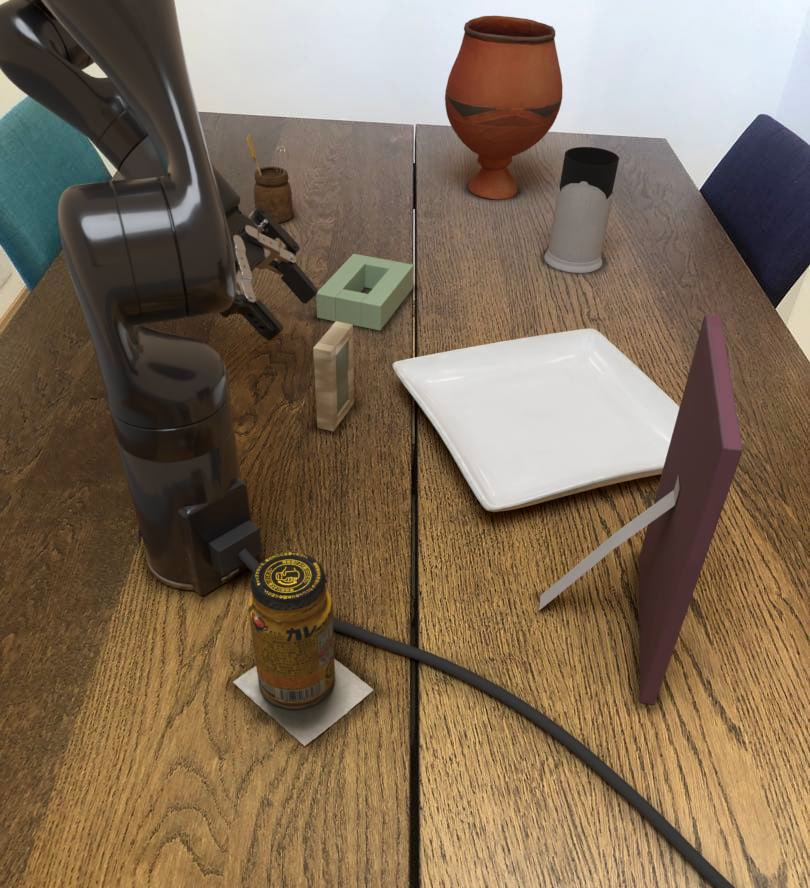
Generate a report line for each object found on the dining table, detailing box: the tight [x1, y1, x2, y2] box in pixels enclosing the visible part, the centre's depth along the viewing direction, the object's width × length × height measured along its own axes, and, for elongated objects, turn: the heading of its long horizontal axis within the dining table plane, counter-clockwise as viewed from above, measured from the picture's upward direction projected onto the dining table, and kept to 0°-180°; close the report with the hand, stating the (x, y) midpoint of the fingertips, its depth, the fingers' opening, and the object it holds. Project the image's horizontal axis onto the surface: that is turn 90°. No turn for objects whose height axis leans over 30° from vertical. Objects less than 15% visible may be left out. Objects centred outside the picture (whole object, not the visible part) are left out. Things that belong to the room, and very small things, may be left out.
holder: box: [315, 253, 415, 331], centre depth 110 cm, size 9×13×4 cm
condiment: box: [232, 551, 374, 747], centre depth 61 cm, size 7×8×12 cm
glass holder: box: [543, 146, 620, 274], centre depth 120 cm, size 9×14×15 cm, turn 161°
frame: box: [312, 321, 355, 433], centre depth 89 cm, size 2×6×10 cm, turn 161°
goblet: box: [444, 15, 564, 200], centre depth 134 cm, size 19×19×25 cm
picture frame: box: [538, 314, 744, 706], centre depth 63 cm, size 17×10×25 cm, turn 168°
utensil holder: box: [245, 134, 294, 224], centre depth 128 cm, size 6×6×12 cm
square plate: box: [391, 327, 680, 513], centre depth 90 cm, size 27×27×4 cm
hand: (295, 316), depth 85 cm, fingers open, 8 cm apart
